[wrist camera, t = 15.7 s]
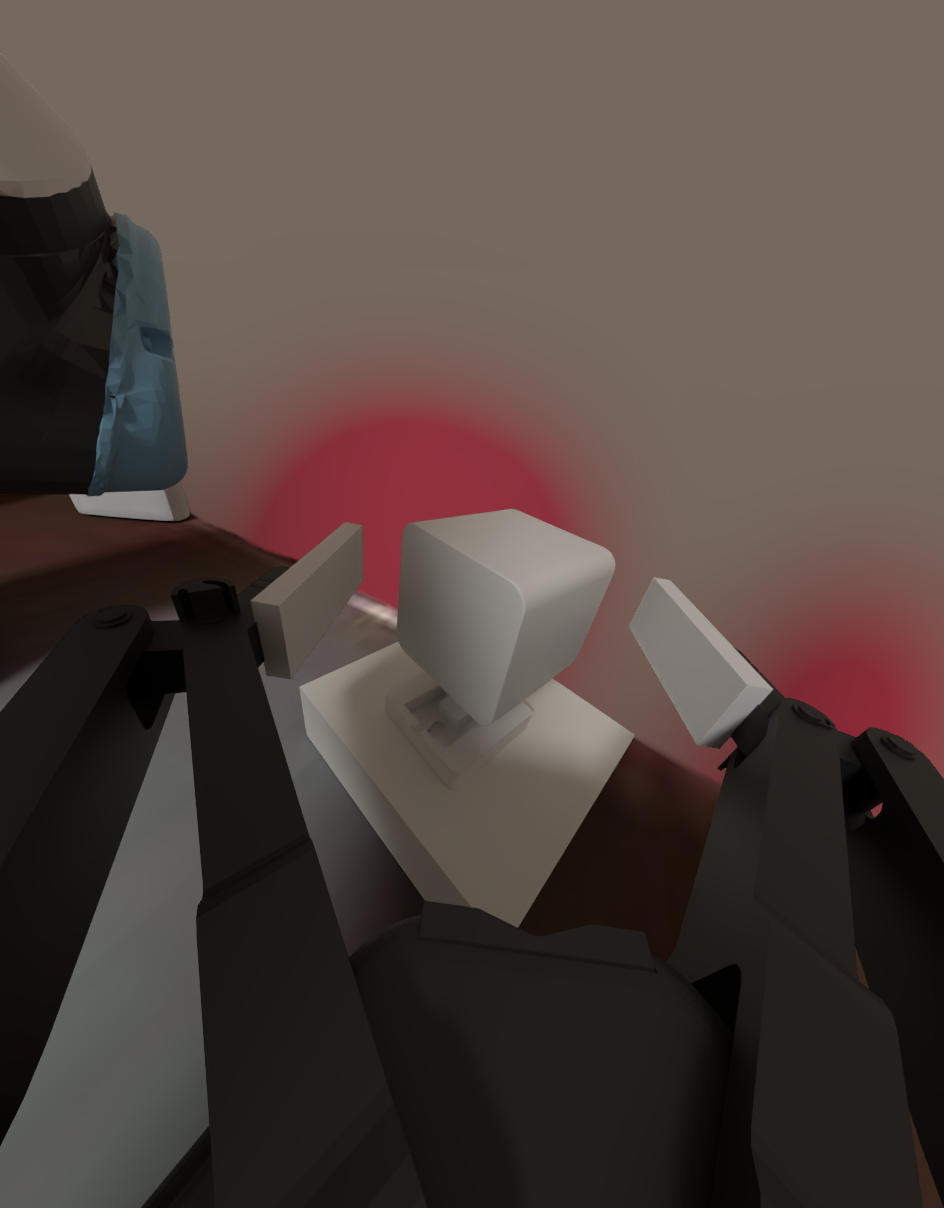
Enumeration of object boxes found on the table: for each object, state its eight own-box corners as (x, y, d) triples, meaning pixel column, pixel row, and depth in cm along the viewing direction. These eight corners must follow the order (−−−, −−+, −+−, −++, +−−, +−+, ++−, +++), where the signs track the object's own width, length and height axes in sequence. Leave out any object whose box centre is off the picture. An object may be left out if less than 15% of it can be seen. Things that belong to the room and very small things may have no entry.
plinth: (306, 734, 20) (299, 686, 18) (451, 653, 28) (458, 614, 26) (481, 980, 13) (504, 949, 11) (608, 775, 21) (635, 735, 19)
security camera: (551, 718, 19) (622, 554, 13) (458, 799, 14) (511, 600, 9) (473, 654, 22) (505, 504, 17) (378, 703, 18) (383, 519, 12)
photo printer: (69, 516, 37) (4, 382, 30) (99, 504, 40) (47, 382, 34) (178, 525, 39) (140, 403, 32) (197, 513, 42) (166, 401, 36)
